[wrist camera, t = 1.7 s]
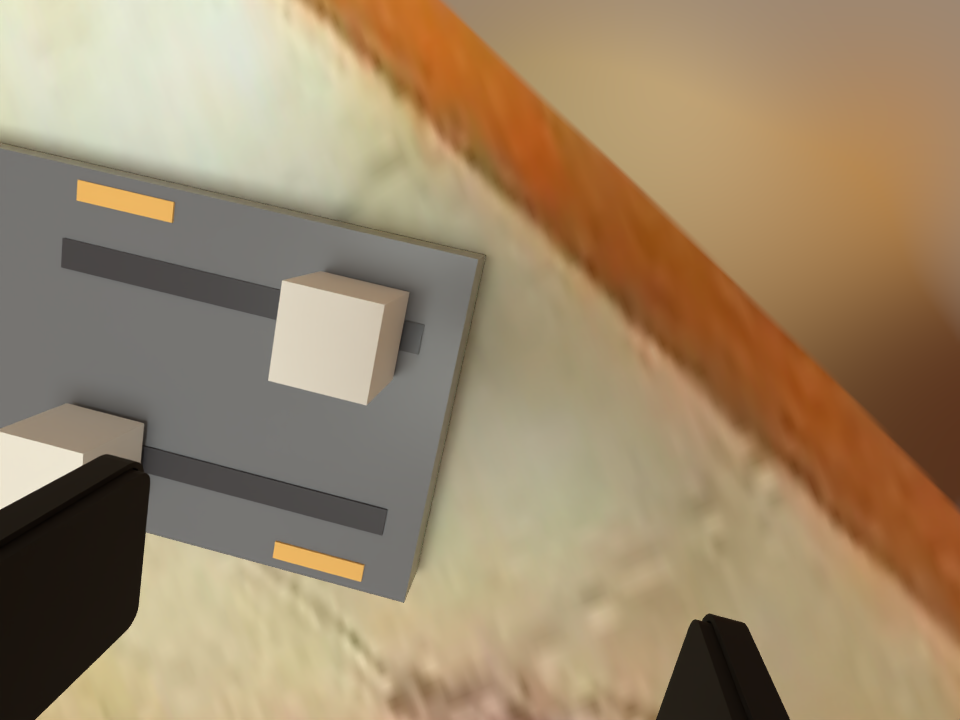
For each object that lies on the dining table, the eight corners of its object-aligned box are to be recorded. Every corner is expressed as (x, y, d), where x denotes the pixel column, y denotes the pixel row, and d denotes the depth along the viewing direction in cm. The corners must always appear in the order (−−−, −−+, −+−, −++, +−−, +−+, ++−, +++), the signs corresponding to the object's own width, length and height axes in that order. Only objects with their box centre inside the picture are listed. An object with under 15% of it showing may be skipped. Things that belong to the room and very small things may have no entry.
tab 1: (144, 423, 26) (83, 453, 23) (137, 497, 27) (77, 537, 24) (66, 403, 27) (-5, 430, 23) (62, 477, 28) (-8, 514, 24)
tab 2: (409, 292, 24) (384, 304, 20) (392, 379, 25) (366, 405, 21) (321, 271, 24) (282, 280, 21) (307, 358, 25) (268, 380, 22)
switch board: (485, 255, 26) (478, 259, 23) (416, 570, 30) (403, 603, 27) (-6, 141, 27) (-63, 133, 25) (-14, 455, 31) (-64, 476, 29)
